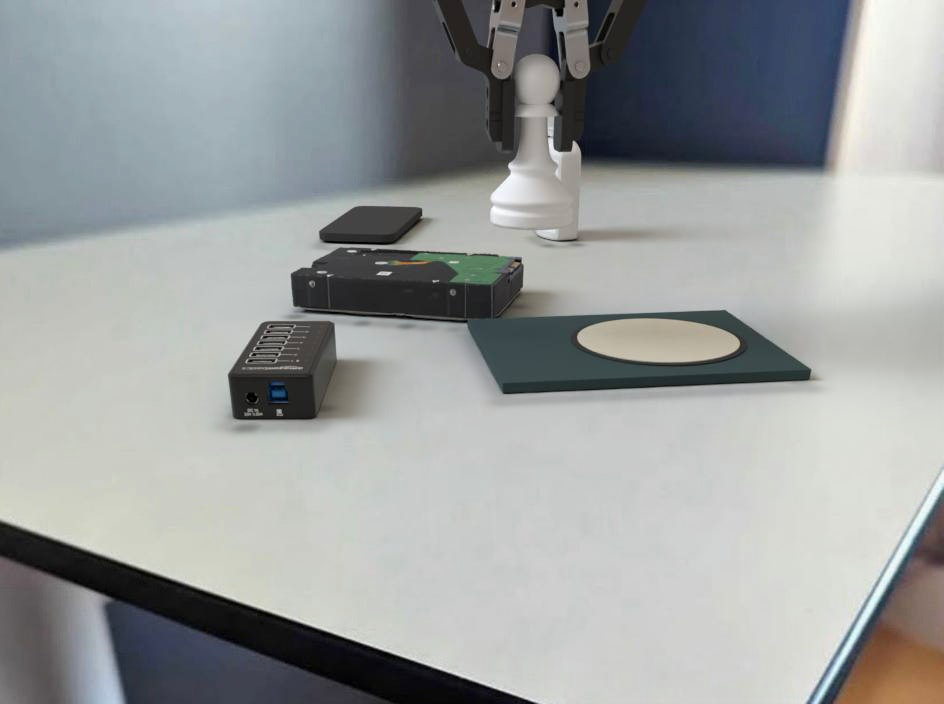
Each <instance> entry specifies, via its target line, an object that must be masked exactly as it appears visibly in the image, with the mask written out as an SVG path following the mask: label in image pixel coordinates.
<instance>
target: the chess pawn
mask: <svg viewBox="0 0 944 704" xmlns="http://www.w3.org/2000/svg"><path fill="white" fill-rule="evenodd" d="M560 72H561V71H560V68H559V67H558V65H557V64H556V62H555V61H554V59H552V58H551V57H550V56H547V55H545V54H541V53H533V54H528V55H525V56H524V57H521V59H520V60H518V62H516V64H515V66H514V67H513V69H512V72H511V80H513V81H515V100H517V101H518V102H519V104H517V105H515V111H514V117H517V118H521V123H520V134H519V143H518V148H517V153H516V155H515V157H514V159H512V161H510V162H509V163H508V165H507V167H508V170H509V172H510V174H509V175H508V176H507V178H505V179H504V181H503V182H501V184H500V185H499V186H498V187H497V188H496V189H495V190H494V191H493V192H492V193H491V195H490V202H491V203H492V205H493V206H492V207H491V208H490V219H489V220H490V223H491V224H492V225H494V226H495V227H498V228H502V229H507V230H515V231H516V230H517V231H535V230H551V229H559V228H564V227H567V226H569V225H570V224H571V223H572V222H573V209H572V208H571V207H570V206H571V204H572V203H573V201H574V197H573V194H572V193H571V192H570V191H569V190H568V189H567V188H566V186H565V185H564V184H563V183H562V182H561V181H560V180H559V179H558V177H557V176H556V175H555V172H556V170H557V169H558V164H557V163H556V162H554V161H553V159H552V158H551V155H550V152H549V144H548V137H549V136H548V117H555V116H559V115H560V114H559V111H558V110H557V108H556V107H555V105H554V104H551V103H552V102H553V101H555V97H556V96H557V94H558V91H559V88H560V82H561V79H560Z"/></svg>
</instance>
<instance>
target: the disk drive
mask: <svg viewBox="0 0 944 704" xmlns="http://www.w3.org/2000/svg"><path fill="white" fill-rule="evenodd" d="M522 261H523V257H522V256H511V255H499V254H497V253H496V254H495V253H467V252H455V251H454V252H452V251H451V252H450V251H434V250H433V251H431V250H430V251H429V250H411V249H395V248H394V249H391V248H373V247H371V248H370V247H354V246H352V247H343V246H341V247H337V248H336V249H334V250H332V251H331V252H328V253H327V254H325V255H324V256H321V257H319V258H317V259H315V260H313V261H312V263H311V266H310V267H300V268H298V269H297V270H295V271H292V272H290V284H291V285H290V286H291V287H290V288H291V299H292V305H293V307H294V308H300V309H303V310H309V311H320V312H334V313H344V314H345V313H346V314H352V315H364V316H385V315H387V316H388V315H389V316H390V315H391V316H393V315H396V316H406V317H412V318H417V319H427V320H428V319H430V320H444V321H459V322H460V321H462V322H463V321H464V322H465V321H468V319H491V318H496V317H499V316H500V314H501V313H502V312H503V311H504V310H505V309H506V308H507V307H508V306H509V305H510V303H511V302H512V301H513V300H514V299H515V298H516V297H517V296H518V295H519V294H520V293H521V289H523V287H524V271H525V269H524V266H525V265H524V263H523V262H522Z"/></svg>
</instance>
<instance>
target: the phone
mask: <svg viewBox="0 0 944 704" xmlns="http://www.w3.org/2000/svg"><path fill="white" fill-rule="evenodd" d="M422 217H423V207H419V206H398V205H397V206H396V205H395V206H394V205H393V206H392V205H391V206H389V205H388V206H387V205H357V206H353V207H352V208H351V209H349V210H348V211H346V212H345V213H343V214H342V215H340V216H339V217H337V218H335V219H334V220H333V221H332V222H330V223H328V224H327V225H325V226H324V227H322V228H320V229H319V231H318V236H319V238H318V239H319V240H320V241H325V242H351V243H393V242H395V241H397V240H398V239H399V238H400V237H401V236H403V234H404V233H405V232H406V231H408V230H409V229H410V228H411V227H412V226H413V225H414V224H415V223H416V222H418V221H419V220H420V219H421V218H422Z"/></svg>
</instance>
